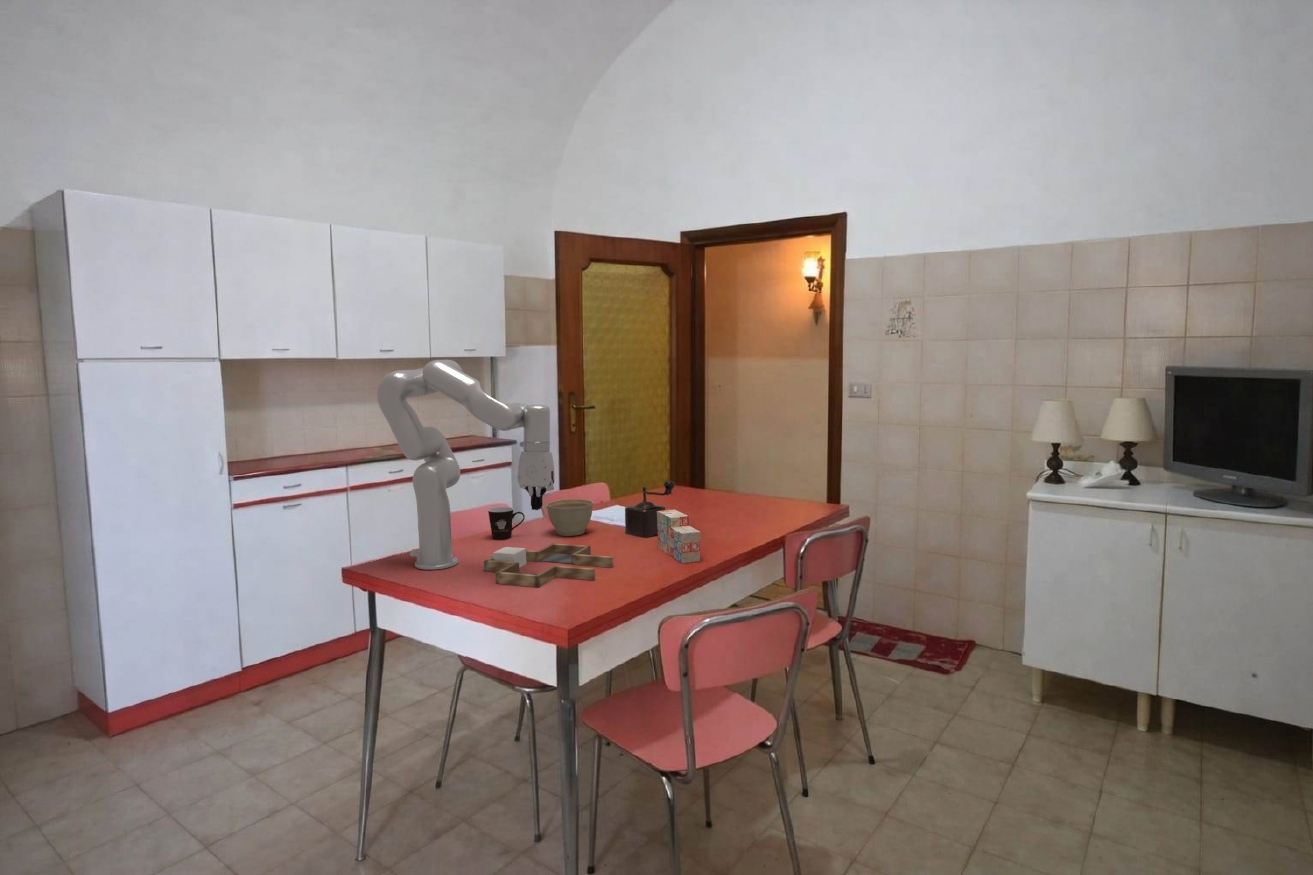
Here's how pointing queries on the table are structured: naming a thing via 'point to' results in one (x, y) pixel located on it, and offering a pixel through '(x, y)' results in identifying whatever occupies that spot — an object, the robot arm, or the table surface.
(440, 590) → the table surface
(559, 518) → the planter bowl
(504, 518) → the coffee mug
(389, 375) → the robot arm
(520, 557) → the cream block
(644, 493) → the manual coffee grinder
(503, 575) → the low wooden maze walls
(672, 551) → the stack of blocks
